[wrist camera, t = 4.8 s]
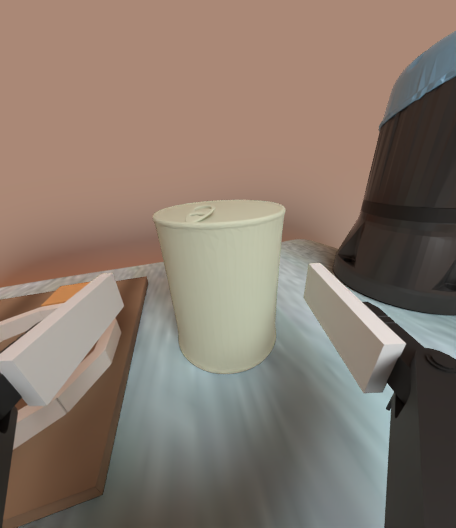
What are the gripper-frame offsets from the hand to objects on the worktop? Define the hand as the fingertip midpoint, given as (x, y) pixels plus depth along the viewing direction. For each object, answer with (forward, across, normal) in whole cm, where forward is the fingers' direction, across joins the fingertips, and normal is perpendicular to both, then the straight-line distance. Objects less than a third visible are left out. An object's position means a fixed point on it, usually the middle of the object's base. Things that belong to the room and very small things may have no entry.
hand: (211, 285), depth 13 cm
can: (+3, +1, -7) cm, 8 cm away
